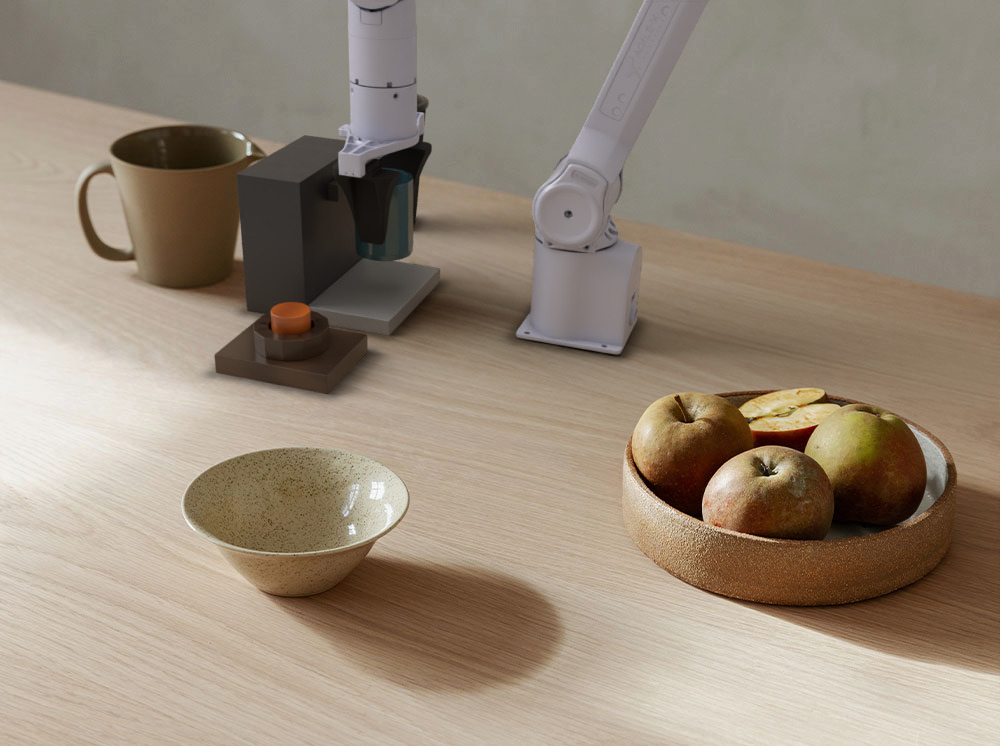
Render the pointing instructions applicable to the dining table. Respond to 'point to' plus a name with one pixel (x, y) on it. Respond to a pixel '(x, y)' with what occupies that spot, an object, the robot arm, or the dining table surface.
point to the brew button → (291, 318)
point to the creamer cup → (394, 225)
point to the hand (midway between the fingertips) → (385, 231)
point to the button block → (293, 355)
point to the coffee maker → (317, 244)
